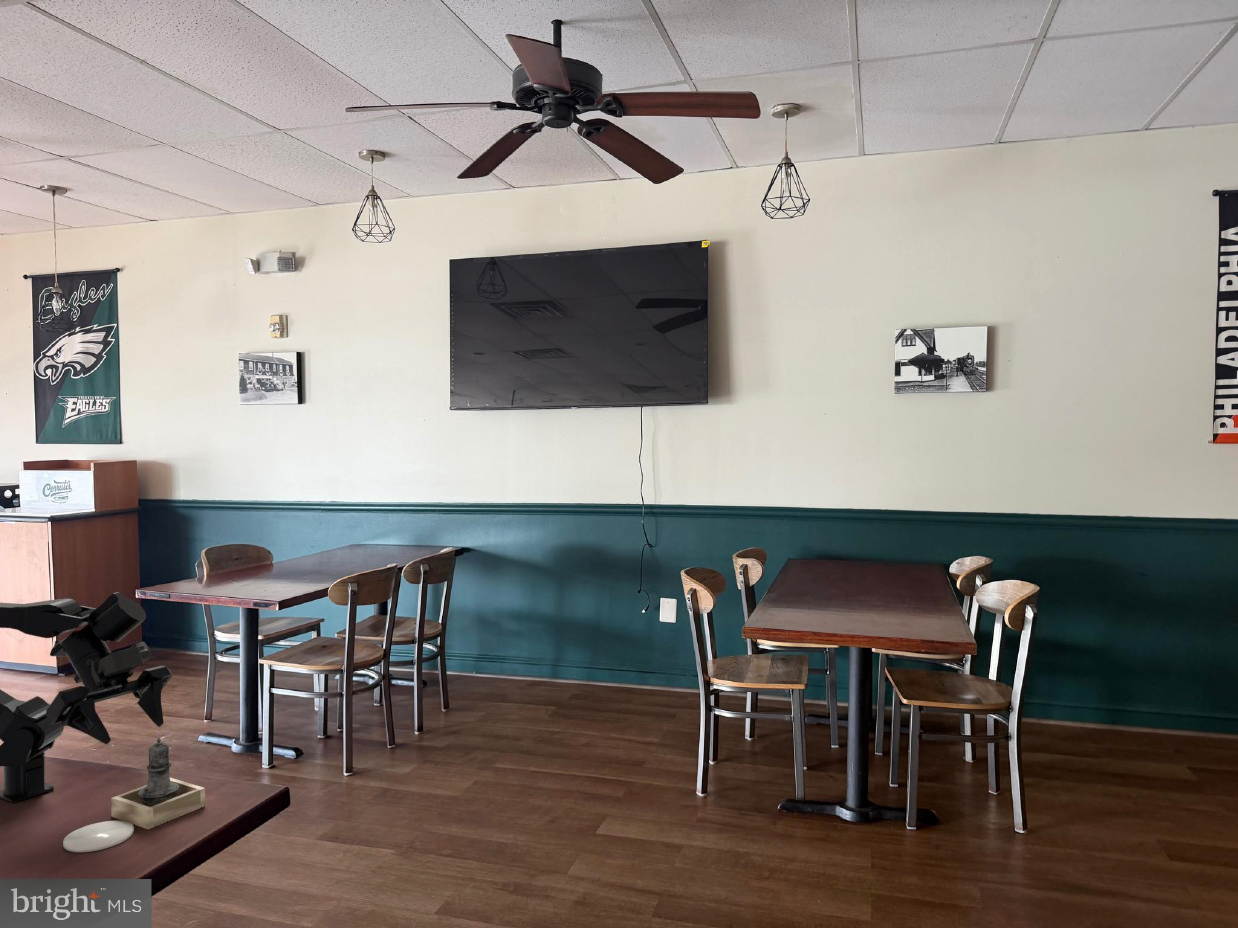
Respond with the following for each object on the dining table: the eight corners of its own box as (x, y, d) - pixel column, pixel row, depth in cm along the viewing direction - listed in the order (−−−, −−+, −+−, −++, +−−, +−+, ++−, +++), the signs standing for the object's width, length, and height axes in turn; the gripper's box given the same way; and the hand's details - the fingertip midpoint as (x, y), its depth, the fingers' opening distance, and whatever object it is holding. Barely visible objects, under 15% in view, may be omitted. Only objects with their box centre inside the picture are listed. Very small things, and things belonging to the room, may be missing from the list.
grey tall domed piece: (161, 820, 129) (160, 745, 129) (129, 817, 130) (129, 742, 130) (187, 805, 135) (187, 733, 135) (156, 801, 136) (156, 730, 136)
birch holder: (111, 816, 131) (111, 797, 131) (168, 794, 139) (168, 776, 139) (148, 829, 126) (148, 810, 126) (204, 805, 135) (204, 787, 135)
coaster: (50, 843, 121) (50, 839, 121) (111, 819, 129) (111, 815, 129) (85, 857, 117) (85, 853, 117) (146, 832, 125) (146, 828, 125)
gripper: (56, 641, 129) (102, 720, 124) (165, 619, 146) (208, 688, 141) (26, 685, 132) (69, 763, 128) (136, 659, 149) (177, 727, 145)
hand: (135, 733), depth 135 cm, fingers open, 9 cm apart
